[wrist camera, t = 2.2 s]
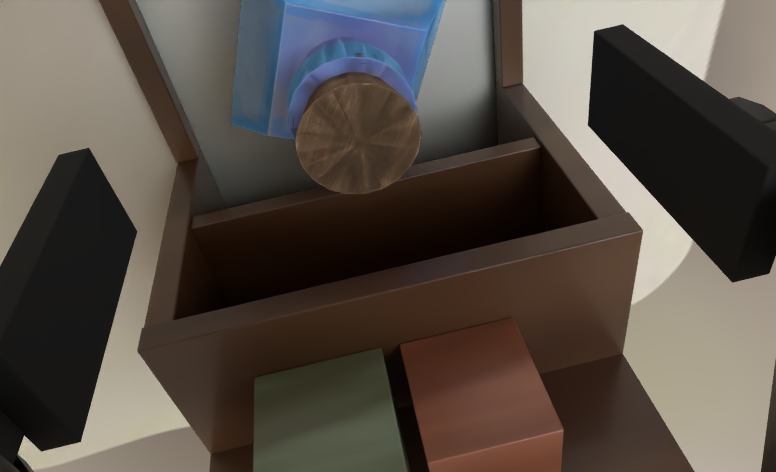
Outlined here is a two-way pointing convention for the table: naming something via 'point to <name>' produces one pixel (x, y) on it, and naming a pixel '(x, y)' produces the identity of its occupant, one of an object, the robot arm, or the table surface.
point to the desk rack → (403, 305)
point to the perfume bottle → (336, 83)
